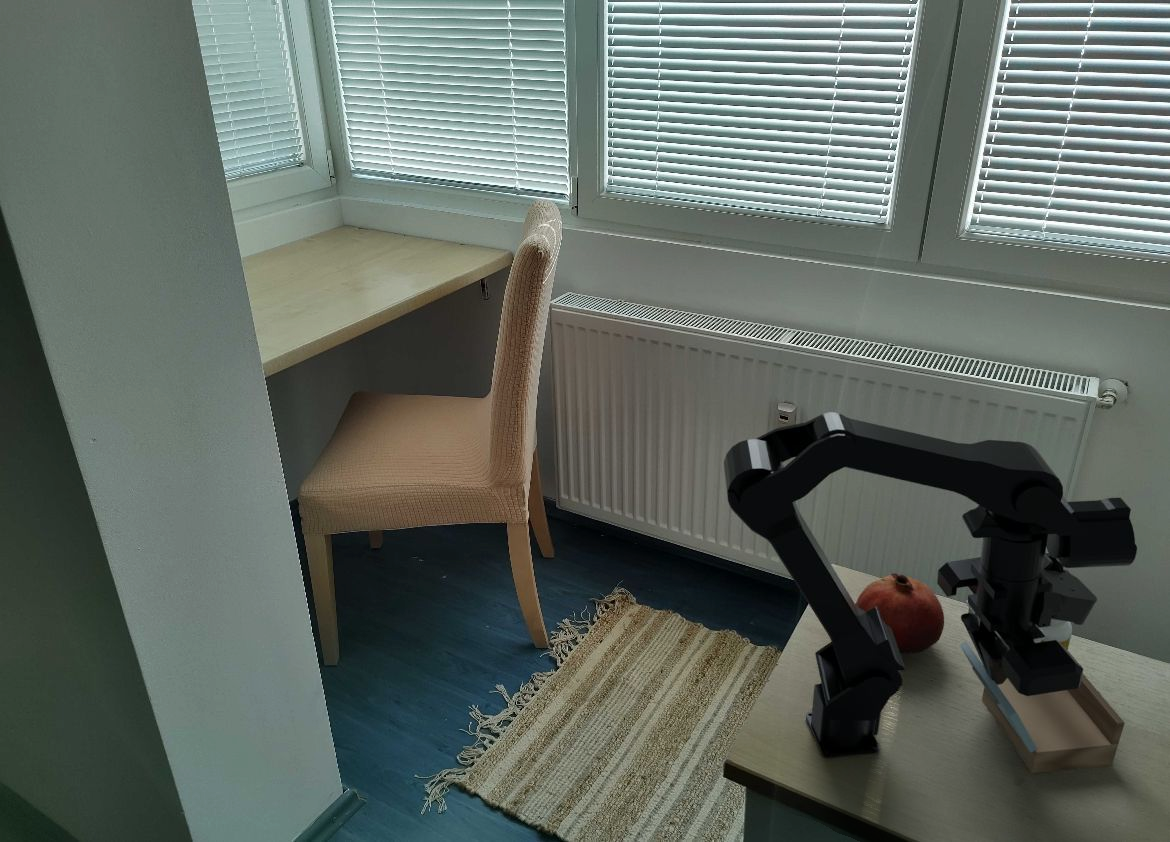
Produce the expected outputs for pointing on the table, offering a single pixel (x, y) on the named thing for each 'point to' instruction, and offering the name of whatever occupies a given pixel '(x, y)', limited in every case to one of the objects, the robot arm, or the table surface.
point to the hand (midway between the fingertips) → (996, 682)
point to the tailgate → (998, 697)
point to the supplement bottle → (1058, 632)
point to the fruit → (906, 611)
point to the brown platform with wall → (1061, 727)
